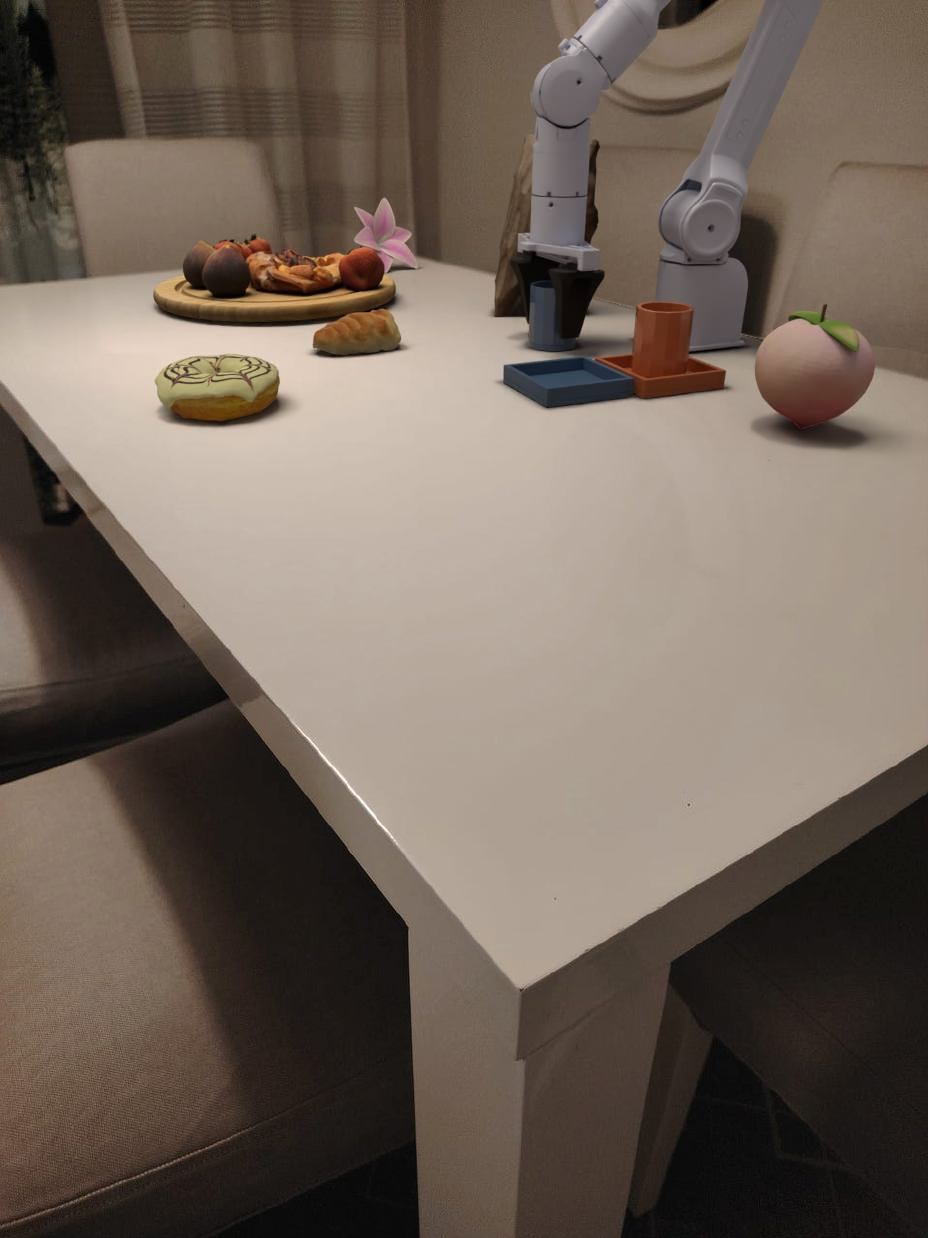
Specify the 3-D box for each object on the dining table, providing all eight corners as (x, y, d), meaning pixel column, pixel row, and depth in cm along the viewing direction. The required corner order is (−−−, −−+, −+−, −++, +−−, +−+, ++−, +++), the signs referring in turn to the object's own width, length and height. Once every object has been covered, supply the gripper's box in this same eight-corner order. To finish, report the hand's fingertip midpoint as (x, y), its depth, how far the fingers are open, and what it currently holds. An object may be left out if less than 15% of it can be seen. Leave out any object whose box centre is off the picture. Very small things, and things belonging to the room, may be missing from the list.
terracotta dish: (669, 365, 93) (671, 349, 92) (723, 388, 86) (726, 370, 85) (593, 374, 90) (594, 357, 89) (643, 398, 83) (645, 380, 82)
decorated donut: (147, 426, 76) (139, 381, 74) (174, 390, 85) (167, 349, 83) (273, 423, 76) (269, 378, 74) (286, 388, 85) (282, 347, 83)
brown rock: (504, 297, 125) (508, 132, 115) (596, 300, 123) (608, 133, 113) (489, 315, 114) (492, 136, 104) (590, 320, 112) (603, 137, 102)
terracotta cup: (664, 367, 91) (672, 299, 88) (696, 380, 87) (705, 309, 83) (619, 372, 89) (626, 303, 86) (650, 386, 85) (657, 314, 82)
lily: (343, 281, 141) (365, 225, 135) (329, 240, 148) (349, 185, 142) (411, 300, 148) (435, 247, 141) (394, 260, 154) (417, 208, 148)
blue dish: (583, 372, 91) (585, 355, 90) (632, 396, 84) (634, 378, 83) (502, 382, 88) (503, 364, 87) (546, 407, 80) (547, 388, 80)
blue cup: (560, 338, 104) (564, 278, 100) (584, 348, 100) (588, 286, 96) (520, 342, 102) (522, 281, 99) (542, 353, 98) (544, 289, 94)
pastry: (333, 361, 94) (330, 323, 92) (300, 349, 99) (297, 313, 97) (406, 348, 99) (405, 312, 98) (372, 337, 104) (370, 302, 102)
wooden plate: (442, 294, 127) (441, 230, 123) (287, 338, 103) (280, 261, 99) (272, 273, 142) (266, 215, 138) (103, 307, 118) (90, 239, 114)
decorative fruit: (722, 418, 78) (740, 297, 73) (798, 408, 81) (820, 290, 76) (797, 453, 70) (824, 320, 65) (878, 439, 73) (909, 311, 68)
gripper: (494, 190, 98) (491, 320, 104) (558, 202, 86) (551, 348, 93) (552, 188, 100) (546, 315, 107) (622, 200, 88) (610, 342, 95)
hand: (552, 330), depth 100 cm, fingers open, 7 cm apart
